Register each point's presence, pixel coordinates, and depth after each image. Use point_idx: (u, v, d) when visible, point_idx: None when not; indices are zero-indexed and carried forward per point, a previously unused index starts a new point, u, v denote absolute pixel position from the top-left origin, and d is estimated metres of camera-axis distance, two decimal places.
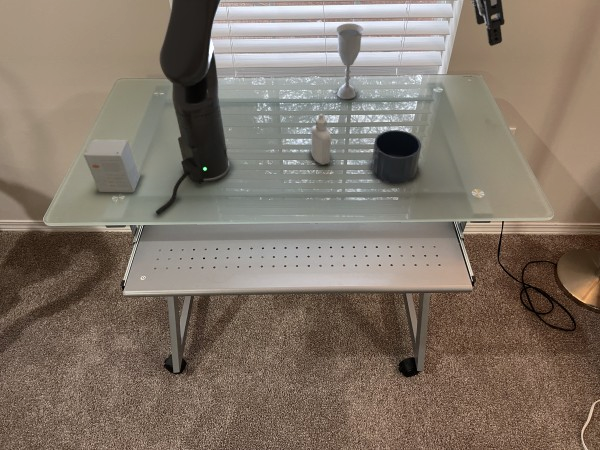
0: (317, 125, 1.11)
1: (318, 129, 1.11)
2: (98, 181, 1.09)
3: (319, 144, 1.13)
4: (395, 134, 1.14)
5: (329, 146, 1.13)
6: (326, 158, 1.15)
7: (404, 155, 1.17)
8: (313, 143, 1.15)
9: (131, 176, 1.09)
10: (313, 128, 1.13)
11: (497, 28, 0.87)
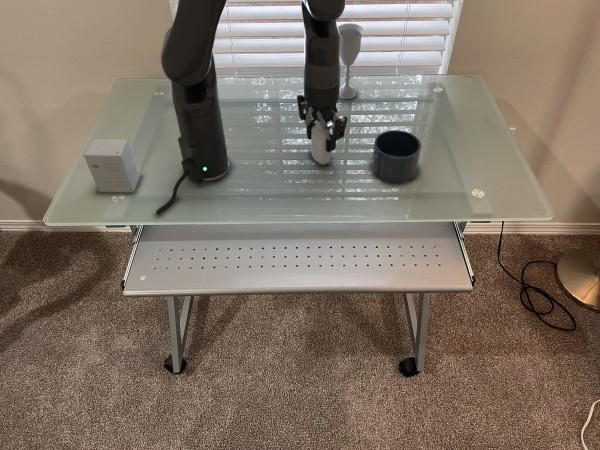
0: (317, 125, 1.11)
1: (318, 129, 1.11)
2: (98, 181, 1.09)
3: (319, 144, 1.13)
4: (395, 134, 1.14)
5: None
6: (326, 158, 1.15)
7: (404, 155, 1.17)
8: (313, 143, 1.15)
9: (131, 176, 1.09)
10: (313, 128, 1.13)
11: None
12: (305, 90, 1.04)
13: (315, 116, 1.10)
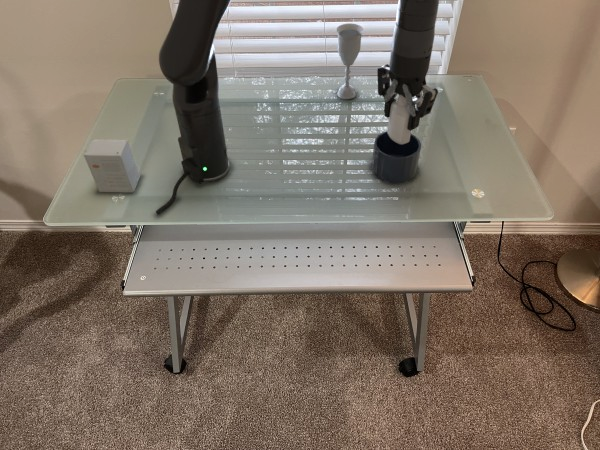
0: (400, 100, 1.02)
1: (400, 104, 1.02)
2: (98, 181, 1.09)
3: (401, 121, 1.03)
4: None
5: None
6: (406, 138, 1.06)
7: (404, 155, 1.17)
8: (393, 121, 1.05)
9: (131, 176, 1.09)
10: (394, 104, 1.04)
11: (419, 116, 1.02)
12: (393, 60, 0.94)
13: (399, 90, 1.01)
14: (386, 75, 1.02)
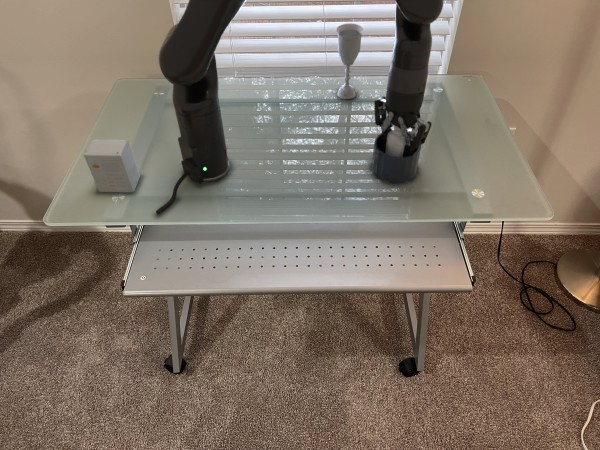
0: (396, 131, 1.07)
1: (396, 135, 1.07)
2: (98, 181, 1.09)
3: (397, 150, 1.09)
4: None
5: None
6: None
7: None
8: (389, 150, 1.11)
9: (131, 176, 1.09)
10: (390, 134, 1.09)
11: None
12: (389, 95, 1.00)
13: (394, 121, 1.06)
14: (383, 107, 1.07)
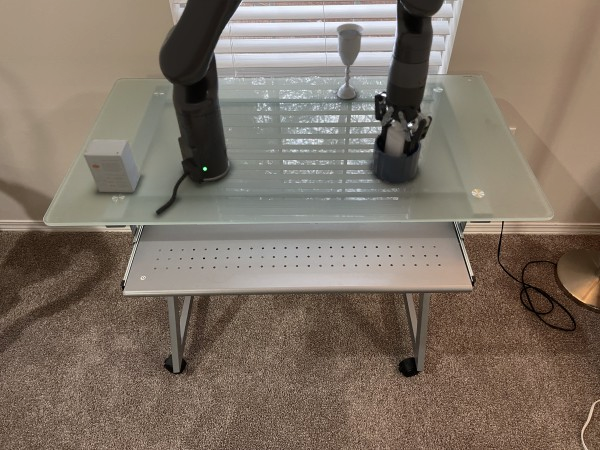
0: (396, 126, 1.06)
1: (396, 130, 1.07)
2: (98, 181, 1.09)
3: (397, 146, 1.08)
4: None
5: None
6: None
7: None
8: (389, 145, 1.10)
9: (131, 176, 1.09)
10: (390, 129, 1.08)
11: (414, 141, 1.06)
12: (389, 89, 0.99)
13: (395, 116, 1.05)
14: (383, 101, 1.07)
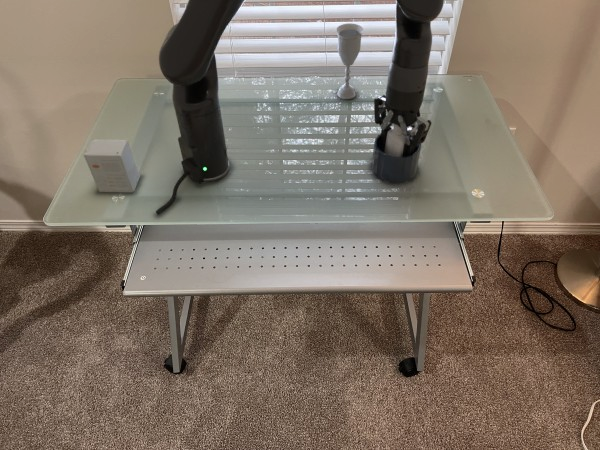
0: (396, 129, 1.07)
1: (396, 133, 1.07)
2: (98, 181, 1.09)
3: (396, 149, 1.09)
4: None
5: None
6: None
7: None
8: (389, 148, 1.11)
9: (131, 176, 1.09)
10: (390, 132, 1.09)
11: None
12: (389, 93, 1.00)
13: (394, 120, 1.06)
14: (382, 105, 1.07)
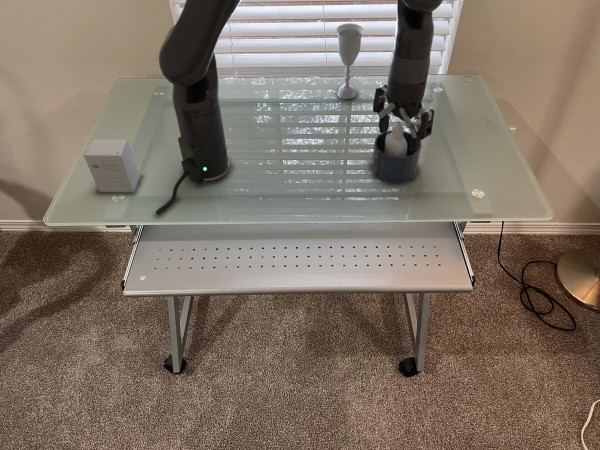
0: (394, 133, 1.07)
1: (394, 137, 1.08)
2: (98, 181, 1.09)
3: (395, 152, 1.09)
4: None
5: (405, 154, 1.10)
6: None
7: None
8: (388, 152, 1.11)
9: (131, 176, 1.09)
10: (388, 136, 1.10)
11: None
12: (390, 85, 0.98)
13: (396, 113, 1.04)
14: (383, 96, 1.06)
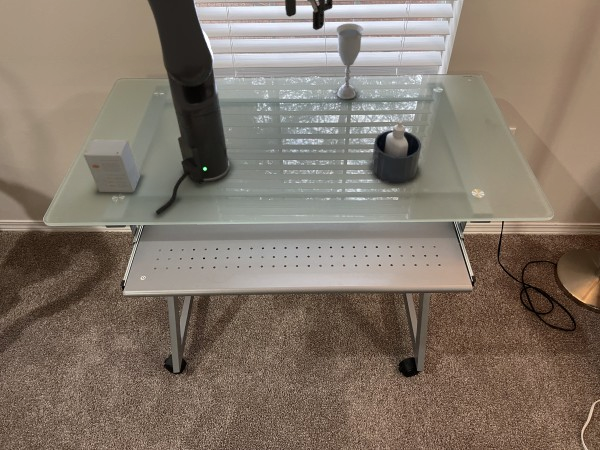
0: (395, 133, 1.07)
1: (395, 137, 1.08)
2: (98, 181, 1.09)
3: (396, 152, 1.09)
4: None
5: (405, 154, 1.10)
6: None
7: None
8: (388, 151, 1.11)
9: (131, 176, 1.09)
10: (389, 136, 1.10)
11: (322, 13, 1.00)
12: None
13: None
14: None
